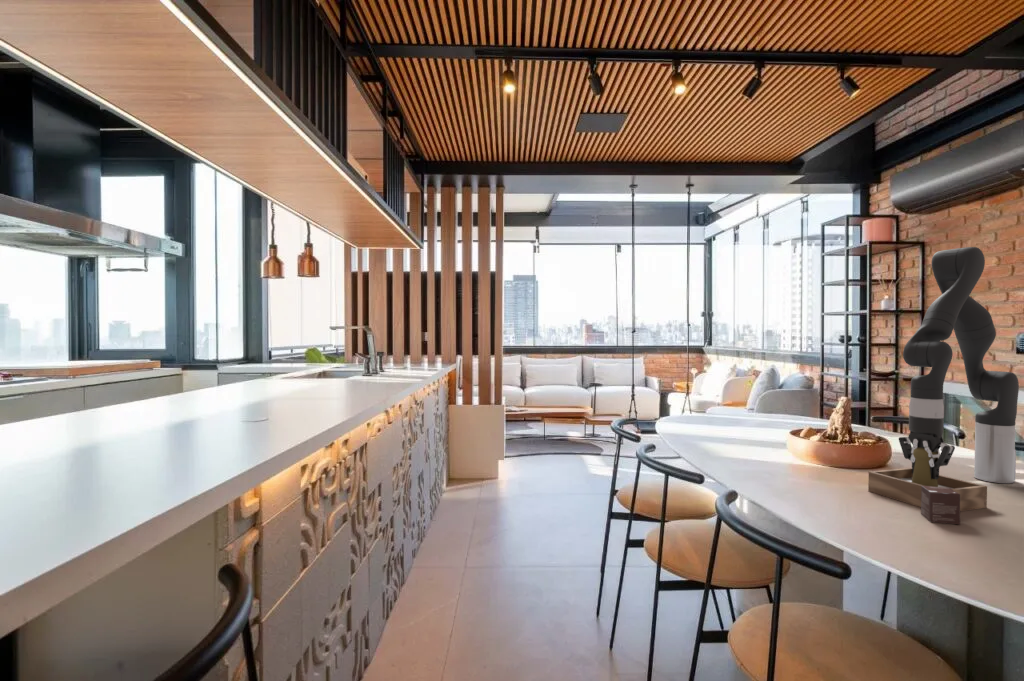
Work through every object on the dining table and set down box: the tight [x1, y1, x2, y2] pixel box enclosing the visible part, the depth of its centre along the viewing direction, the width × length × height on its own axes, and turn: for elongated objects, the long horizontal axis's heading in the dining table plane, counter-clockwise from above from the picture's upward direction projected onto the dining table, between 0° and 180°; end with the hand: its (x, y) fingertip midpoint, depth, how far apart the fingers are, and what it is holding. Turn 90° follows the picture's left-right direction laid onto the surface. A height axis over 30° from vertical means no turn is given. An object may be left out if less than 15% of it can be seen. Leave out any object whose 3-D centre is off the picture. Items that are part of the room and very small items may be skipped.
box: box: [920, 486, 961, 525], centre depth 133 cm, size 6×6×7 cm
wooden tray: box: [867, 467, 988, 512], centre depth 149 cm, size 16×20×6 cm
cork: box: [912, 448, 938, 487], centre depth 149 cm, size 6×6×11 cm
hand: (924, 478), depth 149 cm, fingers closed on cork, 3 cm apart
